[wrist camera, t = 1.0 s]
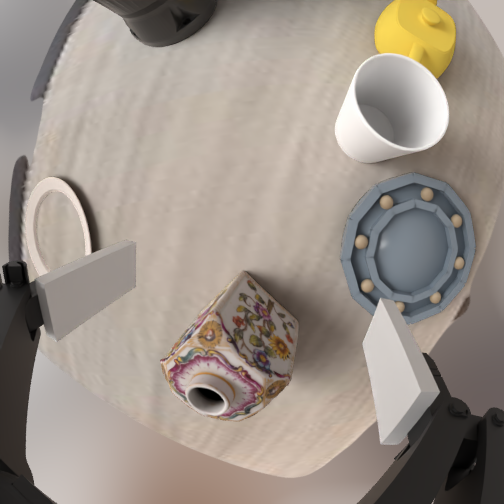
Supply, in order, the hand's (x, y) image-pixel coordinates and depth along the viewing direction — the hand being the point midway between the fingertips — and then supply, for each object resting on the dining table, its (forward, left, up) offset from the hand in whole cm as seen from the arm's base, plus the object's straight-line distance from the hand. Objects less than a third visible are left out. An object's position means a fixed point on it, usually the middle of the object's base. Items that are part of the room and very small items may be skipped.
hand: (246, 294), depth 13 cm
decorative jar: (+15, -4, -24) cm, 29 cm away
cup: (-14, +8, -24) cm, 29 cm away
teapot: (-30, +14, -24) cm, 41 cm away
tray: (0, +17, -24) cm, 29 cm away
